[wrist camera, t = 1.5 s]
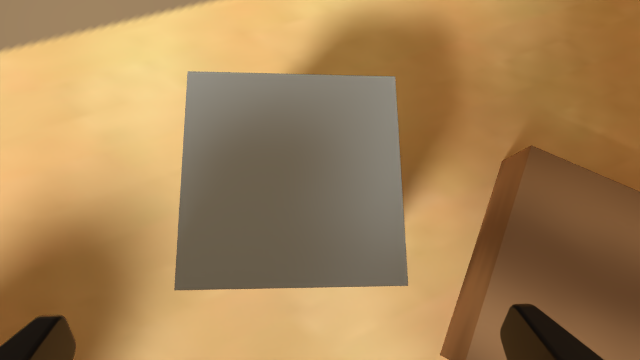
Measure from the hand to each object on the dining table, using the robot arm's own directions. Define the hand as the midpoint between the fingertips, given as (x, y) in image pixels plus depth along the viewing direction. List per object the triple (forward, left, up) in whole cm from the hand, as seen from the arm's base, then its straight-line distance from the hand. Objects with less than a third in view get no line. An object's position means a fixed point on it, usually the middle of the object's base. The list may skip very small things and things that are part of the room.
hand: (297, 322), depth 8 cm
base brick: (-9, -10, -11) cm, 17 cm away
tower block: (+3, -3, -11) cm, 11 cm away
